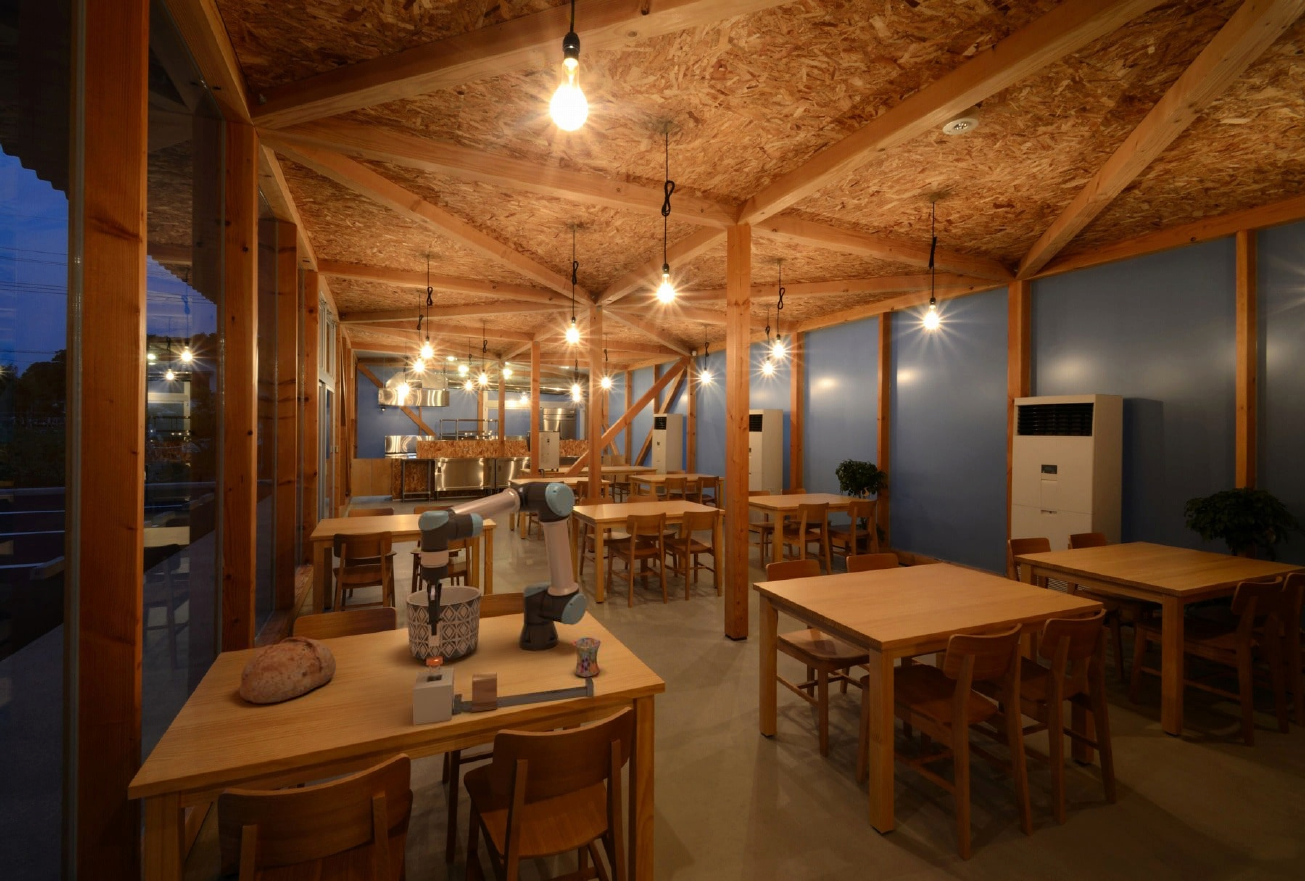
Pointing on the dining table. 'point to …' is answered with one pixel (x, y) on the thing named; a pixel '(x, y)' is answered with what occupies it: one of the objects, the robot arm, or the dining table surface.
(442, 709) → the knob base
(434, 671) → the push button
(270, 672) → the bread
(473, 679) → the block
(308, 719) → the dining table surface
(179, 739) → the dining table surface
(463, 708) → the rail
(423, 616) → the planter
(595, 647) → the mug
